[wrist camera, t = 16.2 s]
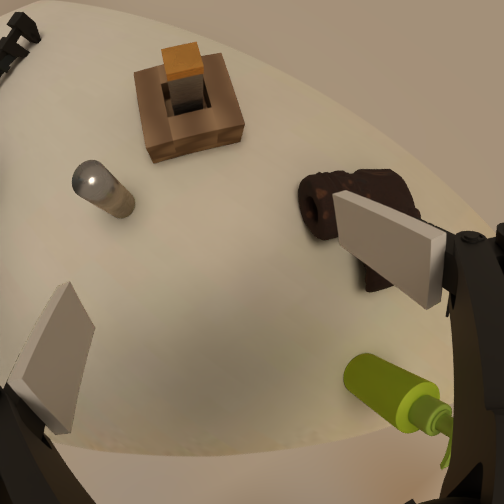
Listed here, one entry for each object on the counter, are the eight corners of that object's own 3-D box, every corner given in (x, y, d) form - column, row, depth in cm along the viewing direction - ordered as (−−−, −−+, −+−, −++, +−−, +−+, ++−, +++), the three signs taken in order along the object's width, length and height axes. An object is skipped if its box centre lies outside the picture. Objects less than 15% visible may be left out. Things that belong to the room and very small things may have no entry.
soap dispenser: (341, 403, 37) (427, 480, 17) (344, 356, 37) (445, 414, 17) (378, 395, 37) (472, 457, 18) (382, 350, 38) (489, 394, 18)
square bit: (176, 126, 35) (166, 74, 24) (171, 103, 35) (161, 49, 24) (203, 119, 35) (203, 66, 24) (197, 97, 35) (196, 41, 24)
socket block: (153, 163, 35) (146, 148, 30) (140, 92, 35) (133, 72, 30) (240, 141, 37) (244, 124, 32) (219, 74, 37) (221, 52, 32)
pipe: (310, 157, 30) (364, 300, 27) (411, 144, 33) (459, 256, 30) (286, 196, 39) (326, 308, 36) (376, 177, 42) (414, 272, 39)
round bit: (103, 208, 34) (65, 184, 23) (120, 185, 34) (88, 153, 23) (123, 224, 34) (89, 205, 23) (140, 201, 35) (113, 172, 24)
